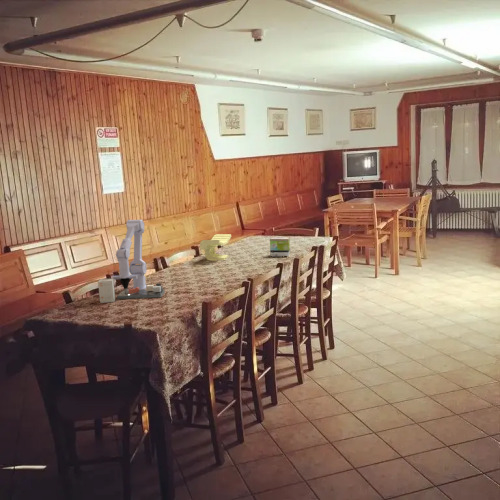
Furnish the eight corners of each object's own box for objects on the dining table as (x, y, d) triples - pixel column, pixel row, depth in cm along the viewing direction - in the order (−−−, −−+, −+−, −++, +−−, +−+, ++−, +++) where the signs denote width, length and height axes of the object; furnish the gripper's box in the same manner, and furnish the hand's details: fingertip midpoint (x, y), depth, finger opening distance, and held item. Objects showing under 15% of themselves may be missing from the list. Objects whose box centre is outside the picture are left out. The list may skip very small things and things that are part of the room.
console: (123, 293, 330) (122, 287, 329) (164, 292, 329) (164, 285, 328) (117, 299, 316) (116, 292, 316) (160, 297, 316) (160, 291, 315)
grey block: (154, 291, 323) (154, 286, 322) (161, 290, 323) (160, 285, 322) (153, 292, 320) (153, 287, 319) (160, 292, 320) (159, 287, 319)
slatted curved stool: (214, 255, 447) (212, 234, 444) (232, 255, 442) (231, 234, 439) (201, 262, 419) (199, 240, 415) (220, 262, 414) (219, 240, 411)
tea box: (270, 257, 428) (269, 238, 426) (271, 254, 438) (271, 236, 436) (288, 256, 426) (288, 238, 423) (290, 254, 435) (289, 236, 433)
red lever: (138, 291, 323) (137, 286, 323) (140, 292, 321) (139, 286, 321) (124, 294, 318) (123, 288, 317) (125, 294, 316) (125, 289, 315)
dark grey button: (156, 287, 327) (156, 283, 327) (161, 287, 327) (161, 283, 327) (155, 288, 324) (155, 284, 324) (160, 288, 324) (160, 284, 324)
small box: (115, 299, 316) (113, 278, 314) (114, 302, 310) (112, 280, 308) (101, 300, 316) (99, 278, 314) (99, 303, 310) (97, 281, 307)
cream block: (147, 289, 327) (147, 284, 326) (154, 289, 327) (153, 284, 326) (146, 290, 324) (146, 286, 323) (153, 290, 324) (152, 285, 323)
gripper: (110, 270, 316) (112, 292, 319) (134, 269, 316) (136, 291, 318) (113, 268, 323) (115, 289, 326) (137, 267, 323) (139, 288, 325)
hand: (126, 290), depth 322 cm, fingers closed
